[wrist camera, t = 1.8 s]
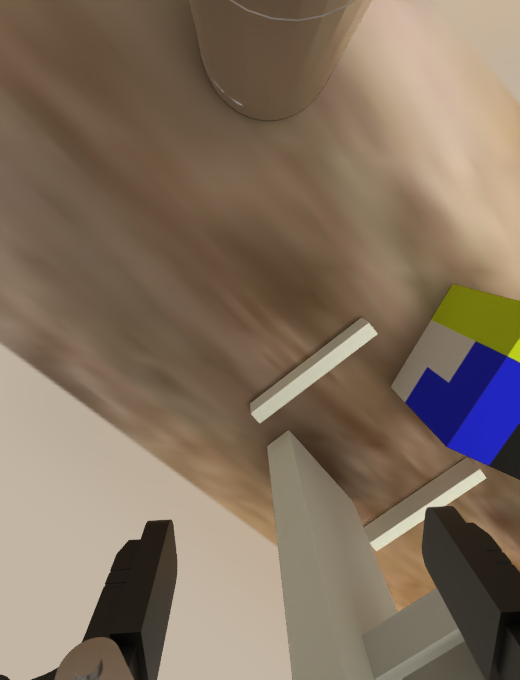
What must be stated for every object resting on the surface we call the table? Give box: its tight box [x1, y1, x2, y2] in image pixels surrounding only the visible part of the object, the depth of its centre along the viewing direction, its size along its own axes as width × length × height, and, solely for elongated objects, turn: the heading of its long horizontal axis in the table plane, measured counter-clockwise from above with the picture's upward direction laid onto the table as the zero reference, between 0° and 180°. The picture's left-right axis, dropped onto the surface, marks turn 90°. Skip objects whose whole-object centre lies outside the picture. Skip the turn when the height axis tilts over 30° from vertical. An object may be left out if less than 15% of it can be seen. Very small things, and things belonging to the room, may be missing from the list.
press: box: [250, 317, 486, 680], centre depth 24 cm, size 14×18×24 cm
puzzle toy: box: [391, 284, 520, 480], centre depth 30 cm, size 10×10×10 cm
